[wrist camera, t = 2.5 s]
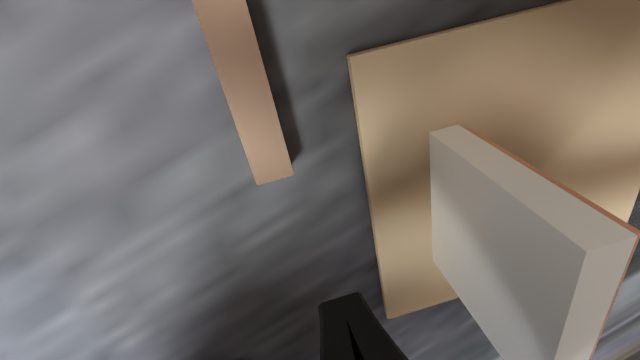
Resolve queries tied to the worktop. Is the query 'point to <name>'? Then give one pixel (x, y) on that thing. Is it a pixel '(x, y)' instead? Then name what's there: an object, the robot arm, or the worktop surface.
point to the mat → (496, 120)
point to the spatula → (245, 85)
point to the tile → (523, 249)
